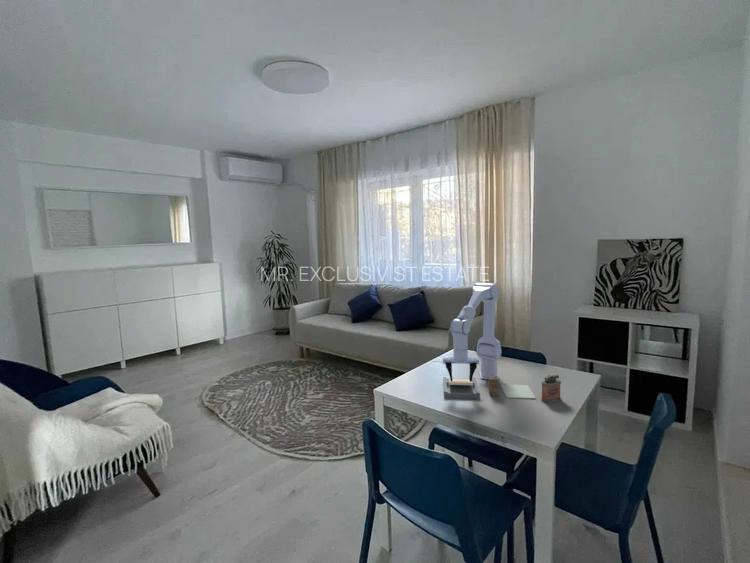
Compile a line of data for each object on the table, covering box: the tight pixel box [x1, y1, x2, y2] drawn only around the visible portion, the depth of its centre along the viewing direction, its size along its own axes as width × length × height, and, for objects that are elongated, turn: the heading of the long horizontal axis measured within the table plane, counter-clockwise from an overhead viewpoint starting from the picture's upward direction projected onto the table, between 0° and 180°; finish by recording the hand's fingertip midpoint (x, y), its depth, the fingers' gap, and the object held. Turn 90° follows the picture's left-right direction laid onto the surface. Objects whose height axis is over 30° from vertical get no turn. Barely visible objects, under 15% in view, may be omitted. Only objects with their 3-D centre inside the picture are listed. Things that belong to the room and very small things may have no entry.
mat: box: [500, 384, 537, 400], centre depth 152 cm, size 13×11×1 cm
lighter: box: [541, 373, 562, 404], centre depth 143 cm, size 8×3×10 cm, turn 105°
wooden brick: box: [488, 376, 499, 397], centre depth 150 cm, size 3×3×7 cm
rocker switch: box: [448, 378, 473, 385], centre depth 155 cm, size 10×9×1 cm
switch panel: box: [442, 376, 481, 400], centre depth 155 cm, size 16×14×4 cm
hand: (460, 380), depth 151 cm, fingers open, 7 cm apart
